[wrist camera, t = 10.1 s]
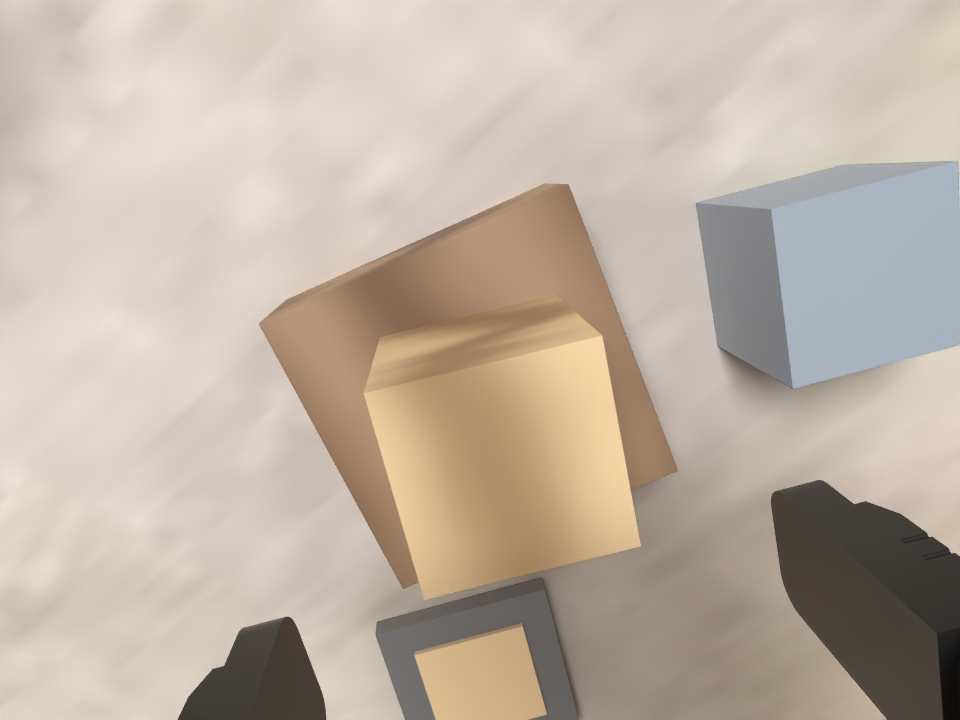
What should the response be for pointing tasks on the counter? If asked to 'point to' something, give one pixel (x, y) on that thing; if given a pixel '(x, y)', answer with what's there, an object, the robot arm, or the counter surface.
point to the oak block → (501, 445)
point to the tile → (479, 659)
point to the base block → (443, 297)
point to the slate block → (836, 269)
